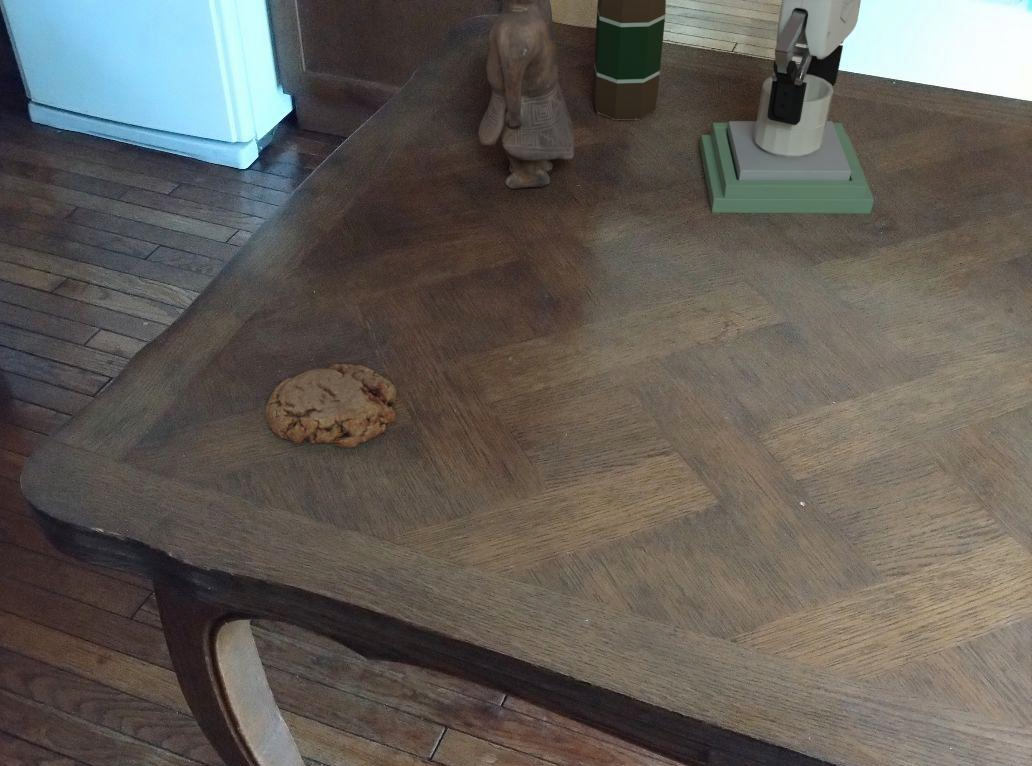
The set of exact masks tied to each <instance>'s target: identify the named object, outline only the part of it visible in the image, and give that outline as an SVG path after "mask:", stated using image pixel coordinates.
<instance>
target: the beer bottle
mask: <svg viewBox="0 0 1032 766" xmlns="http://www.w3.org/2000/svg"><path fill="white" fill-rule="evenodd" d="M666 7H667V0H597V5H596V23H595V25H596V26H595V40H594V41H595V43H594V61H593V82H592V99H593V100H592V101H593V105H594V110H596V111H598V112H600V113H602V114H605V115H607V116H609V117H611V118H614V119H635V118H637V119H640V118H641V117H643V116H645V115H647V114H649V113H650V112H652V111H654V110H655V111H656V107H657V103H658V96H659V95H658V94H659V85H660V75H661V63H662V55H663V54H662V53H663V42H664V34H665V33H664V32H665V24H666V23H665V22H666V9H667V8H666ZM596 111H595V112H596ZM655 111H654V112H655ZM597 115H598V116H600V117H604V116H602V115H599V114H597ZM650 115H651V114H649V115H647V116H645V117H644V118H646V117H648V116H650ZM604 118H606V119H609V118H607V117H604ZM609 120H611V121H613V122H616V121H615V120H612V119H609ZM640 120H641V119H640ZM629 121H632V122H633V121H634V122H635V121H636V120H622V121H621V122H629Z"/></svg>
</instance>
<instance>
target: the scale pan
mask: <svg viewBox="0 0 1032 766" xmlns="http://www.w3.org/2000/svg"><path fill="white" fill-rule="evenodd" d="M756 122H757V120H729V121H728V122H727V123H728V130H727V134H728V139H729V143H730V147H731V152H732V156H733V160H734V165H735V169H736V174H737V178H738V180H829V181H849V178H850V174H851V170H850V167H849V164H848V162H847V159H846V157H845V154H844V151H843V149H842V146H841V143H840V141H839V138H838V136H837V133H836V130H835V128H834V125H833V123H834V122H833V121H829V120H827V124H826V128H825V133H824V138H823V142H822V145H821V146H820V148H819V149H818V150H816V151H814V152H813V153H810V154H808V155H805V156H802V157H794V158H789V157H780V156H776V155H773V154H770V153H768V152H766V151H765V150H763V149H762V148H761V147H760V146H759V145H757V144H756V142H755V138H754V134H755V128H756Z"/></svg>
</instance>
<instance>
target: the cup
mask: <svg viewBox="0 0 1032 766" xmlns="http://www.w3.org/2000/svg"><path fill="white" fill-rule="evenodd" d="M803 82H806V83H807V85H806V91H805V97H804V102H803V108H802V114H801V120H800V122H799V123H798V124H797V125H791V124H787V123H782V122H778V121H773V120H769V119H768V117H767V114H768V107H769V100H770V94H771V87H772V76H770V77H768V78H766V79H765V80H764V82H763V83H762V87H761V93H760V100H759V104H758V110H757V116H756V117H757V118H756V121H757V122H756V128H755V134H754V138H755V142H756V144H757V145H759V146H760V147H761V148H762V149H763V150H765V151H766V152H768V153H770V154H773V155H776V156H780V157H789V158H794V157H802V156H805V155H808V154H810V153H813V152H814V151H816V150H818V149H819V148H820V146H821V145H822V142H823V138H824V133H825V128H826V124H827V121H828V120H829V119H828V118H829V115H830V111H831V105H832V101H833V95H834V87H833V86H832V85H831V84H830V83H829V82H827V81H826V80H824V79H822V78H819V77H817V76H814V75H809V74H806V75H805V78H804V80H803Z"/></svg>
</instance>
